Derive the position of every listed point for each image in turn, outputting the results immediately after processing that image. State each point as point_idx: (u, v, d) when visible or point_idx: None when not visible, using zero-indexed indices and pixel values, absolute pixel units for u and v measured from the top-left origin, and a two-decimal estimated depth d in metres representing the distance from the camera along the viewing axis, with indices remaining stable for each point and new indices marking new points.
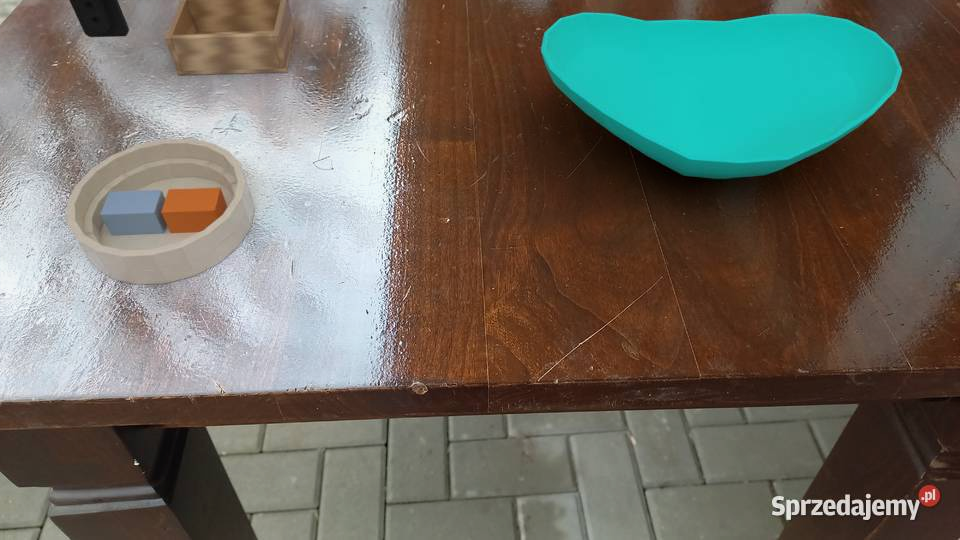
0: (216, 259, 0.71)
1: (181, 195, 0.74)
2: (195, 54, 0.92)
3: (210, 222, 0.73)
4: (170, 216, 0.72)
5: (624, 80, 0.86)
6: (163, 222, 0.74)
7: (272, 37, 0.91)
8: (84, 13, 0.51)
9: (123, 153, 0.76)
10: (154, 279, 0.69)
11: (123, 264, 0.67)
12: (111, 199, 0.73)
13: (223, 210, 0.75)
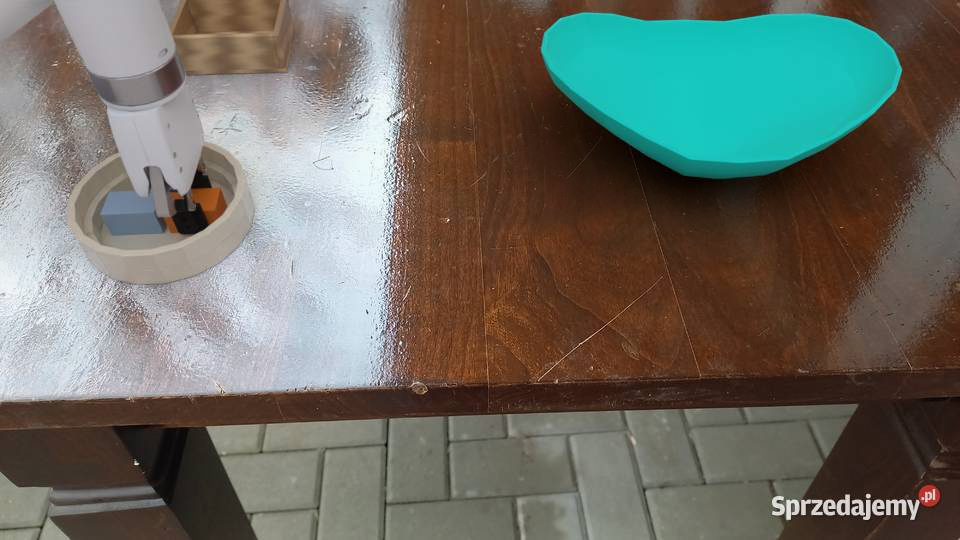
0: (216, 259, 0.71)
1: None
2: (195, 54, 0.92)
3: (210, 222, 0.73)
4: None
5: (624, 80, 0.86)
6: (163, 222, 0.74)
7: (272, 37, 0.91)
8: (180, 223, 0.71)
9: None
10: (154, 279, 0.69)
11: (123, 264, 0.67)
12: (111, 199, 0.73)
13: (223, 210, 0.75)
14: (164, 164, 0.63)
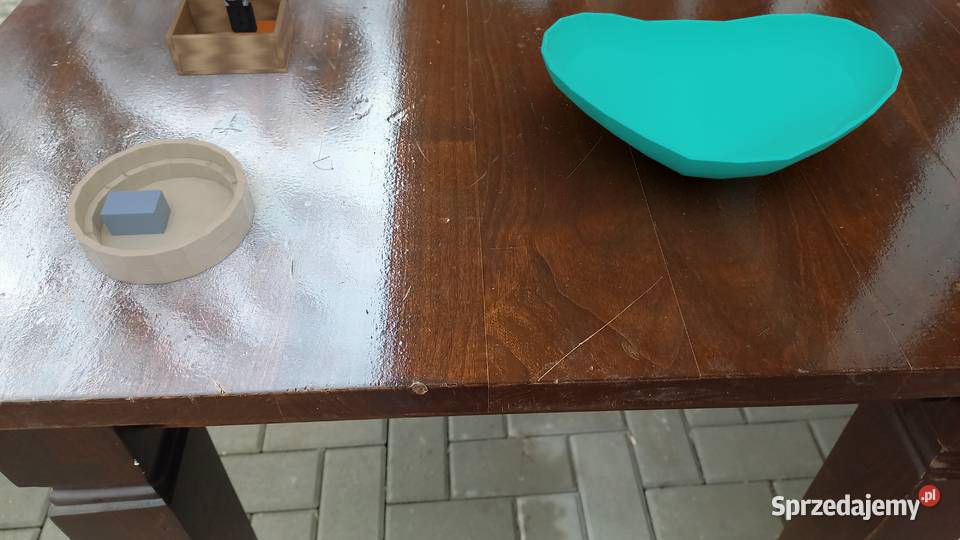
0: (216, 259, 0.71)
1: None
2: (195, 54, 0.92)
3: None
4: None
5: (624, 80, 0.86)
6: (163, 222, 0.74)
7: (272, 37, 0.91)
8: (235, 19, 0.89)
9: (123, 153, 0.76)
10: (154, 279, 0.69)
11: (123, 264, 0.67)
12: (111, 199, 0.73)
13: None
14: None
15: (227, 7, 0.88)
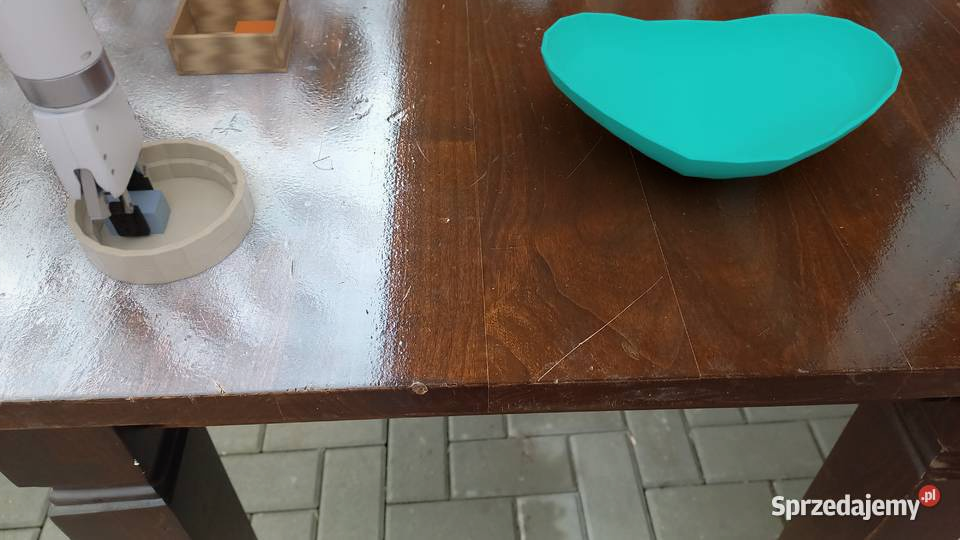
0: (216, 259, 0.71)
1: (247, 25, 0.96)
2: (195, 54, 0.92)
3: None
4: None
5: (624, 80, 0.86)
6: (163, 222, 0.74)
7: (272, 37, 0.91)
8: (119, 225, 0.71)
9: None
10: (154, 279, 0.69)
11: (123, 264, 0.67)
12: (111, 199, 0.73)
13: None
14: (94, 166, 0.63)
15: None
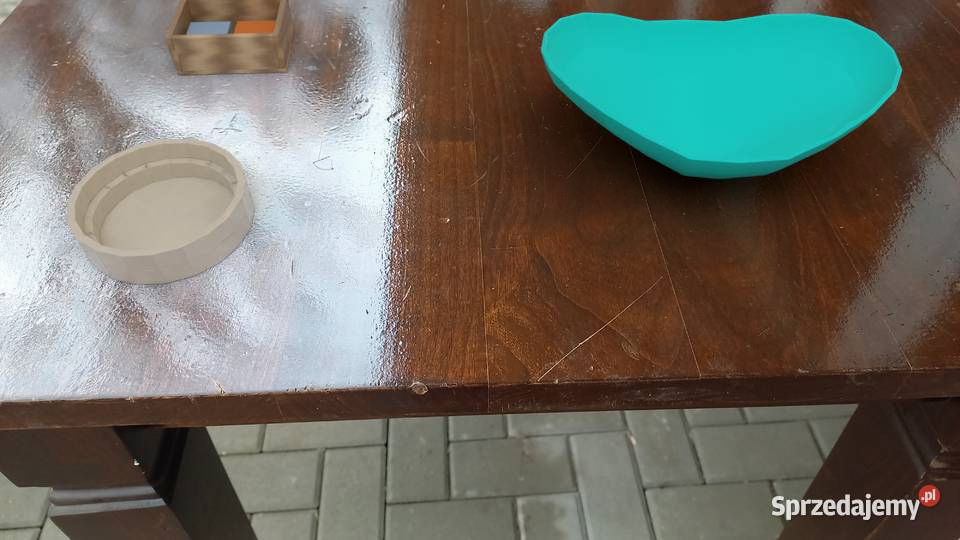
0: (216, 259, 0.71)
1: (247, 25, 0.96)
2: (195, 54, 0.92)
3: None
4: None
5: (624, 80, 0.86)
6: None
7: (272, 37, 0.91)
8: None
9: (123, 153, 0.76)
10: (154, 279, 0.69)
11: (123, 264, 0.67)
12: (192, 26, 0.95)
13: None
14: None
15: None
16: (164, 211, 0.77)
